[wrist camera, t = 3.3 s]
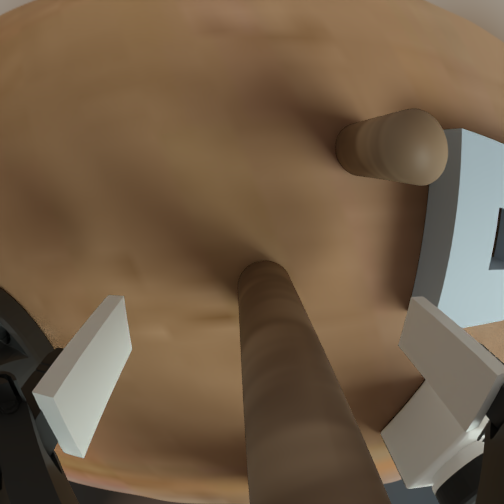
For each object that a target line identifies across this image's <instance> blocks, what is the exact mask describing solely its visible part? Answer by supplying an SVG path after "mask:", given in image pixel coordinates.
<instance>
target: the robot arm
mask: <svg viewBox="0 0 504 504" xmlns="http://www.w3.org/2000/svg"><path fill="white" fill-rule="evenodd" d="M398 346H399V347H400V348H401V350H402V351H403V352H404V353H405V355H406V356H407V357H408V358H409V359H410V361H411V362H412V363H413V364H414V366H415V367H416V368H417V369H418V371H419V372H420V373H421V374H422V376H423V377H424V378H425V380H426V381H427V382H428V383H429V385H430V386H431V387H432V388H433V390H434V391H435V392H436V394H437V395H438V396H439V398H440V399H441V400H442V401H443V403H444V404H445V405H446V407H447V408H448V409H449V411H450V412H451V413H452V415H453V416H454V417H455V419H456V420H457V421H458V423H459V424H460V426H461V427H462V428H463V430H464V431H465V432H468V431H470V430H472V429H475V428H477V427H479V425H480V424H481V422H482V420H483V419H484V417H485V416H487V417H488V419H489V421H488V423H487V424H486V426H485V427H484V429H483V430H482V432H481V433H480V435H479V436H478V438H477V441H479V440H480V439H481V437H482V436H483V435H485V438H484V439H483V441H482V442H484V451H483V460H482V467H481V474H480V481H479V486H478V492H477V497H476V502H475V504H504V363H502V362H501V361H500V360H499V359H498V358H497V357H495V355H494V354H493V353H491V352H489V350H488V349H487V348H486V347H485V346H483V345H482V344H480V343H479V342H477V341H476V340H475V339H474V338H473V337H472V336H470V335H469V334H468V333H467V332H466V331H465V330H463V329H462V328H461V327H460V326H459V325H458V324H456V323H455V322H454V321H453V320H452V319H450V318H449V317H448V316H447V315H446V314H444V313H443V312H442V311H441V310H439V309H438V308H437V307H436V306H435V305H433V304H432V303H431V302H430V301H428V300H427V299H426V298H425V297H423V296H420V297H411V299H410V303H409V307H408V311H407V315H406V319H405V323H404V327H403V330H402V334H401V337H400V341H399V344H398ZM131 350H132V345H131V340H130V334H129V328H128V322H127V315H126V308H125V301H124V296H115V295H108V296H107V297H106V298H105V299H104V301H103V302H102V303H101V304H100V305H99V306H98V308H97V309H96V310H95V311H94V312H93V314H92V315H91V316H90V317H89V318H88V320H87V321H86V322H85V323H84V325H83V326H82V327H81V328H80V329H79V331H78V332H77V333H76V334H75V336H74V337H73V338H72V339H71V341H70V342H69V343H68V344H67V346H66V347H65V348H64V349H63V348H56V349H55V350H54V349H53V347H52V346H51V344H50V343H49V341H48V339H47V338H46V337H45V335H44V334H43V332H42V331H41V330H40V328H39V327H38V326H37V324H36V323H35V322H34V320H33V319H32V318H31V317H30V316H29V315H28V313H27V312H26V311H25V310H24V309H23V308H22V307H21V306H20V305H19V304H18V303H17V302H16V301H15V300H14V299H13V298H12V297H10V296H9V295H8V294H7V293H6V292H4V291H3V290H2V289H0V504H79V502H78V501H77V498H76V496H75V495H74V492H73V490H72V489H71V486H70V484H69V482H68V480H67V478H66V475H65V473H64V471H63V468H62V466H61V464H60V461H59V459H58V456H57V454H56V453H55V451H54V449H55V446H56V444H57V442H58V443H59V445H60V447H61V448H62V450H63V452H64V453H67V454H70V455H74V456H77V457H81V458H84V457H85V454H86V452H87V449H88V447H89V444H90V442H91V439H92V437H93V435H94V432H95V430H96V427H97V425H98V423H99V420H100V418H101V416H102V414H103V411H104V409H105V407H106V404H107V402H108V400H109V398H110V395H111V393H112V391H113V389H114V387H115V384H116V382H117V380H118V378H119V376H120V374H121V371H122V369H123V367H124V365H125V363H126V361H127V359H128V357H129V355H130V353H131Z"/></svg>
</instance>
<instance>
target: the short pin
mask: <svg viewBox="0 0 504 504" xmlns="http://www.w3.org/2000/svg"><path fill="white" fill-rule="evenodd" d="M335 148H336V155H337V158H338V161H339V163H340V164H341V166H342V167H343V168H344V169H345V170H346V171H348V172H349V173H351V174H353V175H356V176H363V177H370V178H376V179H383V180H389V181H396V182H402V183H407V184H413V185H420V186H423V185H428V184H431V183H433V182H434V181H436V180H437V179H438V178H439V177H440V176H441V174H442V173H443V171H444V169H445V167H446V163H447V159H448V144H447V139H446V136H445V133H444V131H443V129H442V127H441V125H440V124H439V123H438V121H437V120H436V119H435V118H434V117H433V116H432V115H430V114H429V113H427V112H425V111H423V110H420V109H407V110H403V111H399V112H395V113H391V114H387V115H383V116H379V117H376V118H372V119H368V120H365V121H361V122H358V123H354V124H351V125H349V126H347V127H345V128H344V129H343V130H342V131H341V132H340V133H339V135H338V137H337V140H336V146H335Z"/></svg>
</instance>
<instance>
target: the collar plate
mask: <svg viewBox="0 0 504 504" xmlns="http://www.w3.org/2000/svg"><path fill="white" fill-rule="evenodd" d="M443 131H444V133H445V136H446V139H447V144H448V159H447V163H446V167H445V169H444V171H443V173H442V174H441V176H440V177H439V178H438V179H437V180H436V181H434V182H433V183H431V184H429V193H428V203H427V212H426V220H425V227H424V234H423V241H422V247H421V253H420V258H419V264H418V269H417V274H416V279H415V284H414V288H413V293H412V297H420V296H423V297H425V298H426V299H427V300H428V301H430V302H431V303H432V304H433V305H435V306H436V307H437V308H438V309H439V310H441V311H442V312H443V313H444V314H446V315H447V316H448V317H449V318H450V319H452V320H453V321H454V322H455V323H456V324H458V325H459V326H460V327H461V328H465V327H471V326H476V325H482V324H487V323H492V322H497V321H502V320H504V144H502V143H500V142H498V141H495V140H493V139H490V138H487V137H485V136H482V135H479V134H477V133H474V132H471V131H468V130H465V129H462V128H458V129H445V130H443ZM499 208H502V211H501V218H500V225H499V231H498V237H497V243H496V248H495V253H494V257H491V256H492V251H493V246H494V240H495V234H496V228H497V222H498V214H499Z"/></svg>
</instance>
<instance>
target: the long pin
mask: <svg viewBox="0 0 504 504" xmlns="http://www.w3.org/2000/svg"><path fill="white" fill-rule="evenodd" d="M238 301H239V324H240V345H241V366H242V385H243V403H244V421H245V438H246V454H247V469H248V484H249V499H250V504H391V502H390V500H389V498H388V495H387V493H386V490H385V488H384V485H383V483H382V480H381V478H380V476H379V473H378V471H377V469H376V466H375V464H374V462H373V459H372V457H371V455H370V452H369V450H368V448H367V445H366V443H365V441H364V438H363V436H362V434H361V432H360V429H359V427H358V425H357V423H356V420H355V418H354V416H353V413H352V411H351V409H350V407H349V404H348V402H347V400H346V398H345V396H344V393H343V391H342V389H341V387H340V384H339V382H338V380H337V378H336V376H335V373H334V371H333V369H332V367H331V365H330V362H329V360H328V358H327V356H326V354H325V352H324V349H323V347H322V345H321V343H320V341H319V339H318V336H317V334H316V332H315V330H314V328H313V326H312V324H311V321H310V319H309V317H308V315H307V313H306V311H305V309H304V307H303V304H302V302H301V300H300V298H299V296H298V294H297V292H296V290H295V288H294V286H293V283H292V281H291V279H290V277H289V275H288V273H287V272H286V270H285V269H284V268H283V267H282V266H280V265H279V264H277V263H274V262H271V261H260V262H256V263H254V264H251V265H250V266H248V267H247V268H246V269H245V270H244V271H243V272H242V274H241V276H240V278H239V281H238Z"/></svg>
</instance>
